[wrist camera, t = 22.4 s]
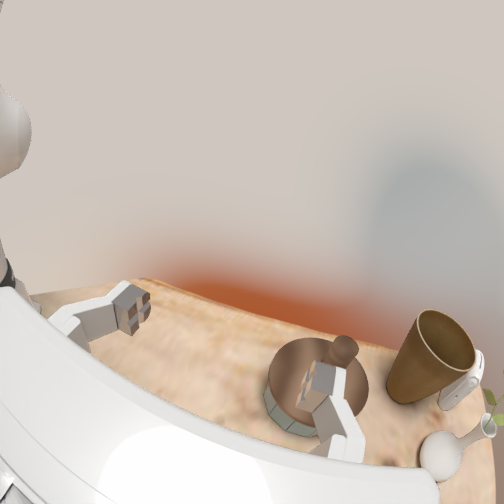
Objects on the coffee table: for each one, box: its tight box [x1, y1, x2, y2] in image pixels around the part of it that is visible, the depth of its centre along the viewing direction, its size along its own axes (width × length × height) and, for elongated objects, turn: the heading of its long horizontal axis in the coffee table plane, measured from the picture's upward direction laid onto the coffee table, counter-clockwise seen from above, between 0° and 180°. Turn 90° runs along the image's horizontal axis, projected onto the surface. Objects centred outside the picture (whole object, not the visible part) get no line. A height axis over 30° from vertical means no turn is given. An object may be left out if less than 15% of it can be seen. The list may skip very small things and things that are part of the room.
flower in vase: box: [420, 371, 504, 482], centre depth 23 cm, size 13×11×25 cm
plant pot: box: [386, 309, 476, 404], centre depth 40 cm, size 15×15×16 cm
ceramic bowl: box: [263, 382, 318, 437], centre depth 39 cm, size 14×14×6 cm
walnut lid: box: [268, 336, 369, 428], centre depth 35 cm, size 16×16×9 cm
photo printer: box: [438, 350, 484, 410], centre depth 39 cm, size 10×4×12 cm, turn 135°
